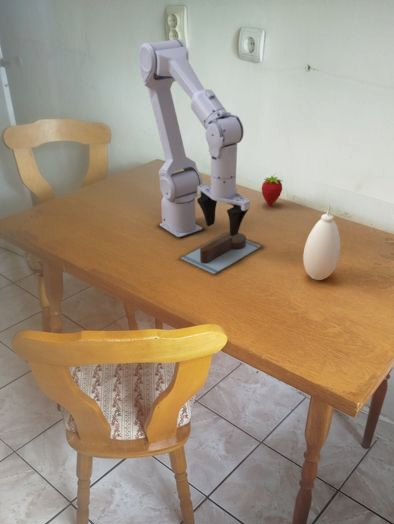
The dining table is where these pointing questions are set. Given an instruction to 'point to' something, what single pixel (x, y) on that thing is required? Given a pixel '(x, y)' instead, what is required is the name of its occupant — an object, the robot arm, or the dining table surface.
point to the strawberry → (271, 189)
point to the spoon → (222, 246)
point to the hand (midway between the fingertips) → (222, 229)
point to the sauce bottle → (322, 248)
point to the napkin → (221, 258)
